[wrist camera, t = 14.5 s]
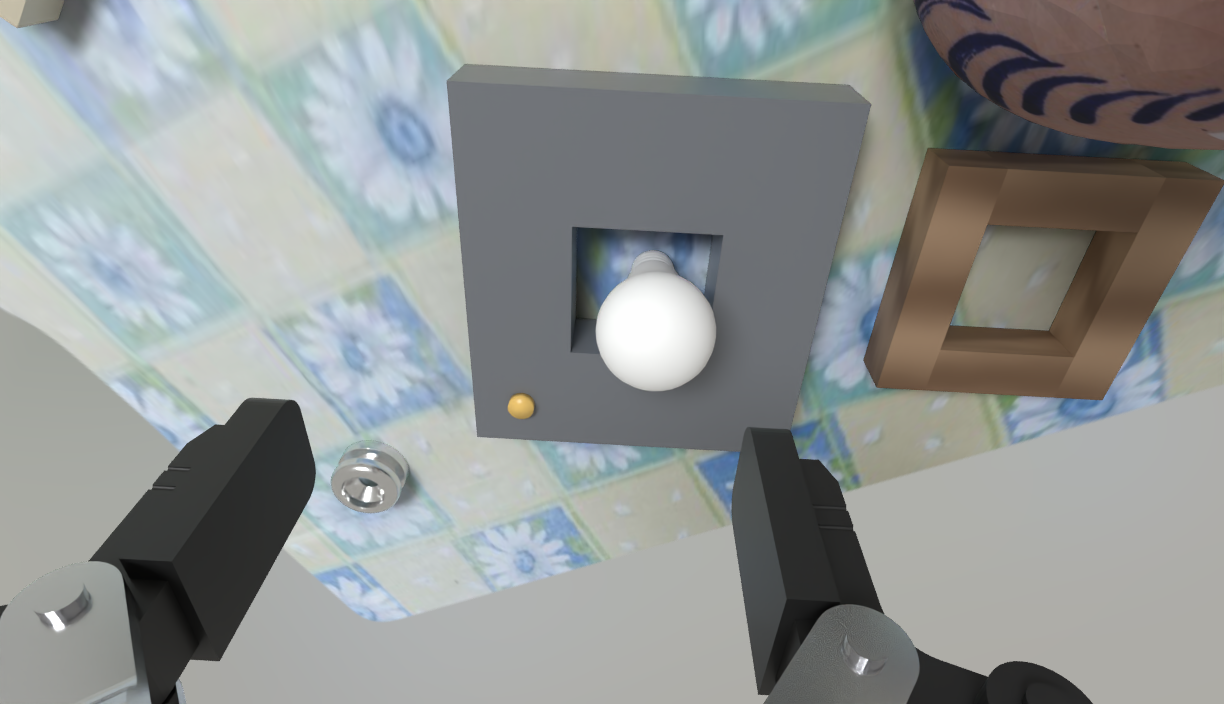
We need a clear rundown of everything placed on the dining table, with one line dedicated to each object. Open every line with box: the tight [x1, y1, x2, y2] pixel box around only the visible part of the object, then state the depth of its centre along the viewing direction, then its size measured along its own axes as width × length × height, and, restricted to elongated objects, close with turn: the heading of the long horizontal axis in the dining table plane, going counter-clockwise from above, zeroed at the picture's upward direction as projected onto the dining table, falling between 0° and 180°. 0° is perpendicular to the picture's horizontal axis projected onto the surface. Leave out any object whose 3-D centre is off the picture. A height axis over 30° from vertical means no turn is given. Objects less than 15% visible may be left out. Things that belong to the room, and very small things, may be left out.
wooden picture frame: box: [863, 148, 1224, 400], centre depth 39 cm, size 14×14×3 cm
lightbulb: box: [596, 250, 716, 391], centre depth 37 cm, size 6×6×11 cm
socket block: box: [447, 64, 871, 452], centre depth 39 cm, size 22×20×5 cm
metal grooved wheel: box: [331, 440, 409, 513], centre depth 50 cm, size 5×3×5 cm
